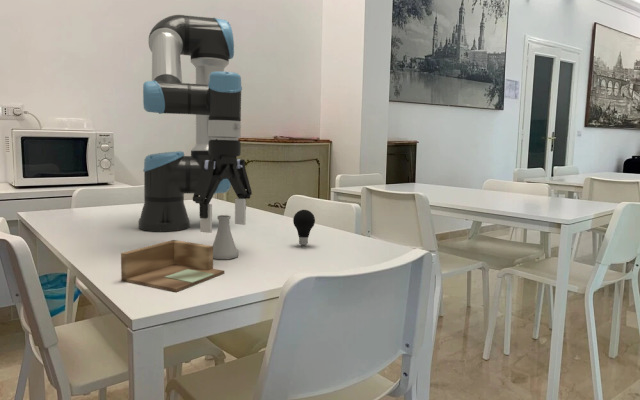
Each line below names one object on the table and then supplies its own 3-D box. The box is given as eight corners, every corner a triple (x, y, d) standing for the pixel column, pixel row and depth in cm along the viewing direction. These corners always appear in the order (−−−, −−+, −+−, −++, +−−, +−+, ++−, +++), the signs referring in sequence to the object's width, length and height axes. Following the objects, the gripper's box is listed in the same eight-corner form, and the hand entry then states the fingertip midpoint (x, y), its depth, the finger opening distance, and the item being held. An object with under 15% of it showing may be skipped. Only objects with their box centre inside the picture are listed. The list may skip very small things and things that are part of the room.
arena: (121, 280, 100) (121, 253, 99) (173, 264, 114) (173, 239, 113) (176, 292, 94) (176, 263, 94) (224, 273, 108) (224, 247, 107)
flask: (232, 261, 118) (232, 219, 117) (203, 258, 119) (203, 217, 118) (242, 254, 125) (243, 215, 124) (215, 252, 126) (216, 212, 125)
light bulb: (298, 249, 133) (299, 211, 131) (289, 244, 138) (290, 208, 136) (317, 247, 135) (319, 211, 134) (308, 243, 140) (309, 207, 139)
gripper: (203, 138, 106) (203, 237, 108) (266, 140, 128) (264, 222, 131) (176, 137, 109) (176, 234, 111) (241, 139, 131) (240, 220, 134)
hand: (224, 228), depth 121 cm, fingers open, 13 cm apart
